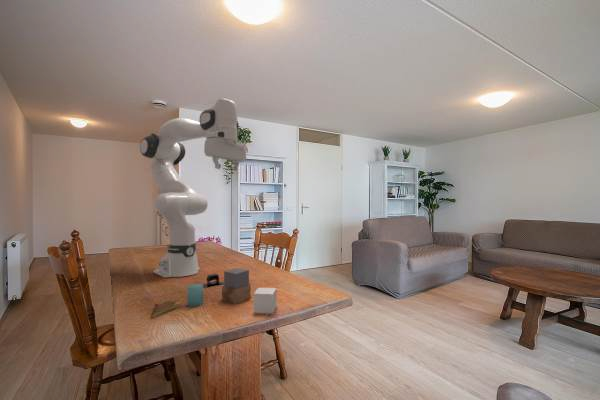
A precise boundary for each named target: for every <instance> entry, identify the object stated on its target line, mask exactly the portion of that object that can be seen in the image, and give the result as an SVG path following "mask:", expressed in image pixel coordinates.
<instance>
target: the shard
mask: <svg viewBox="0 0 600 400" xmlns="http://www.w3.org/2000/svg"><path fill="white" fill-rule="evenodd" d="M181 307H182V303H181V302H179V301H177V300H172V299H166V300H164V301H161V302H159V303H155V304H154V307H153V309H152V313H151V315H150V316H151V317H152V319H155V318H156V316H157V317H158V316H161V315H163V314H166V313H168V312H170V311H173V310H176V309H178V308H181Z"/></svg>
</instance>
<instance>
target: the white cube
mask: <svg viewBox="0 0 600 400" xmlns="http://www.w3.org/2000/svg"><path fill="white" fill-rule="evenodd" d="M277 304H278V303H277V288H276V287H258V288H256V290H255V292H254V293H253V313H254V314H255V313H256V314H269V315H270V314H271V315H273V314H274V312H275V310H276V309H277Z"/></svg>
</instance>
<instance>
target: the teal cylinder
mask: <svg viewBox="0 0 600 400" xmlns="http://www.w3.org/2000/svg"><path fill="white" fill-rule="evenodd" d="M203 284H204V283H203ZM203 284H202V283H193V284H189V285H187V286H186V288H187V290H186V291H187V292H186V293H187V294H186V295H187V296H186V298H187V299H186V301H187V302H186V303H187V304H186V305H187V307H190V308H191V307H194V308H195V307H200V306H202V305H203V304H204V288H203Z"/></svg>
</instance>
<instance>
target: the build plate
mask: <svg viewBox="0 0 600 400" xmlns="http://www.w3.org/2000/svg"><path fill="white" fill-rule="evenodd" d="M223 285H224V281H222V280H221V281H220V276H219V274H218V273H212V274H207V277H206V283H203V289H207V288H211V287H216V286H217V287H218V286H223Z"/></svg>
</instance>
